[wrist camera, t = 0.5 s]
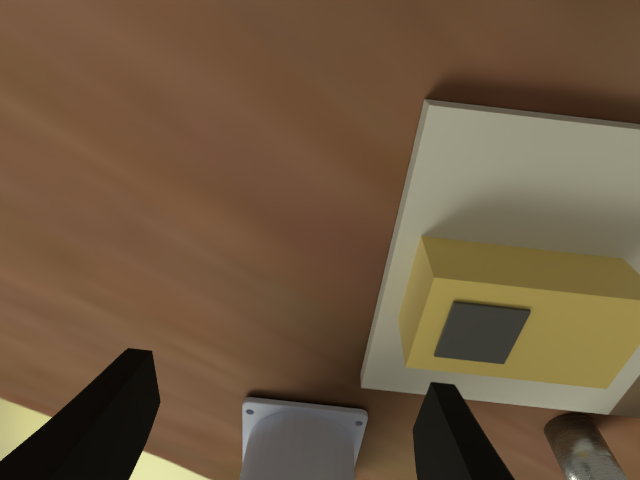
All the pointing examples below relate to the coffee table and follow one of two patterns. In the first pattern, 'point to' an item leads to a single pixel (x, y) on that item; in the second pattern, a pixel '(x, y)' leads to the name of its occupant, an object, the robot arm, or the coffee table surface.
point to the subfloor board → (511, 227)
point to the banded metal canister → (581, 449)
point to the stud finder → (519, 313)
